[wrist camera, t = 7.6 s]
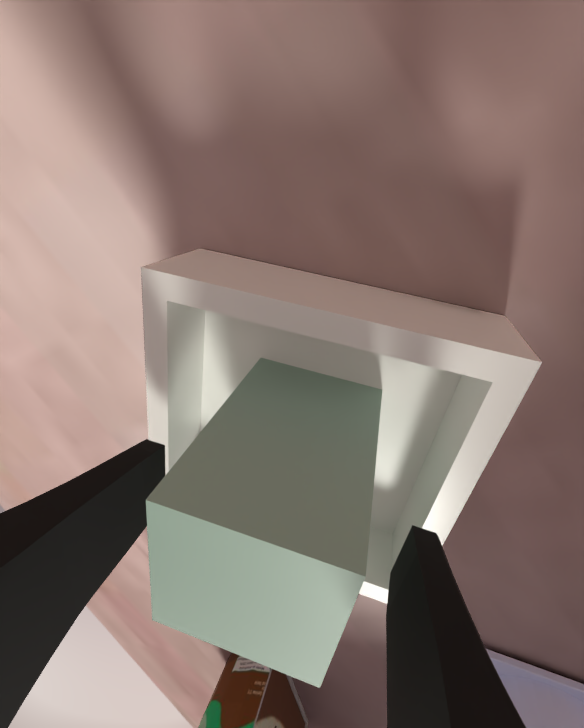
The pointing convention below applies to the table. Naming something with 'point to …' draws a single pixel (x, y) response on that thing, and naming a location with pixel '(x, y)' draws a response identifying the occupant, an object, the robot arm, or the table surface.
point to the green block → (269, 520)
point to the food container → (253, 698)
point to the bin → (340, 375)
